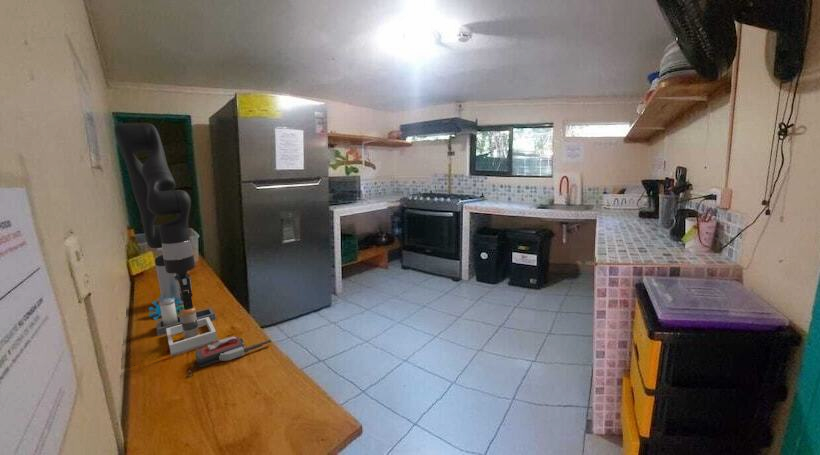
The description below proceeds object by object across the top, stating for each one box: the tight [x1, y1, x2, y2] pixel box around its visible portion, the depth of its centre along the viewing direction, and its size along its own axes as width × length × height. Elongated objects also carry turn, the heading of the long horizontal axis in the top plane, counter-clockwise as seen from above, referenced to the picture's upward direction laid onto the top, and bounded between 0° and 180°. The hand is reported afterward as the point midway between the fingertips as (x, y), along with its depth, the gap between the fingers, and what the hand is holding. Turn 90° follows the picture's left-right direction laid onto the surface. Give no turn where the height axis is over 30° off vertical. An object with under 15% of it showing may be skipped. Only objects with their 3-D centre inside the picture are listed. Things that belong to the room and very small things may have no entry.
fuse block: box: [156, 307, 217, 337], centre depth 113 cm, size 17×9×3 cm, turn 130°
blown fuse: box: [178, 306, 201, 340], centre depth 102 cm, size 4×4×10 cm
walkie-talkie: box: [193, 335, 272, 368], centre depth 95 cm, size 9×4×20 cm
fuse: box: [158, 298, 178, 327], centre depth 109 cm, size 4×4×10 cm
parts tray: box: [166, 317, 219, 357], centre depth 103 cm, size 14×12×4 cm
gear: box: [148, 296, 184, 321], centre depth 121 cm, size 11×6×10 cm
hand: (187, 304), depth 101 cm, fingers open, 8 cm apart
